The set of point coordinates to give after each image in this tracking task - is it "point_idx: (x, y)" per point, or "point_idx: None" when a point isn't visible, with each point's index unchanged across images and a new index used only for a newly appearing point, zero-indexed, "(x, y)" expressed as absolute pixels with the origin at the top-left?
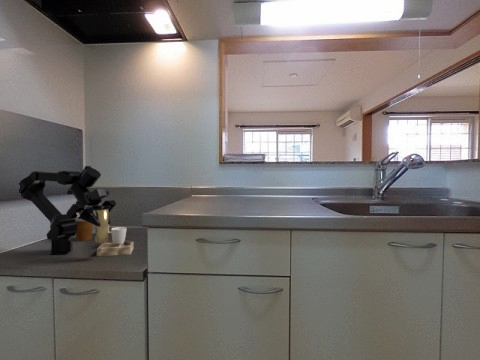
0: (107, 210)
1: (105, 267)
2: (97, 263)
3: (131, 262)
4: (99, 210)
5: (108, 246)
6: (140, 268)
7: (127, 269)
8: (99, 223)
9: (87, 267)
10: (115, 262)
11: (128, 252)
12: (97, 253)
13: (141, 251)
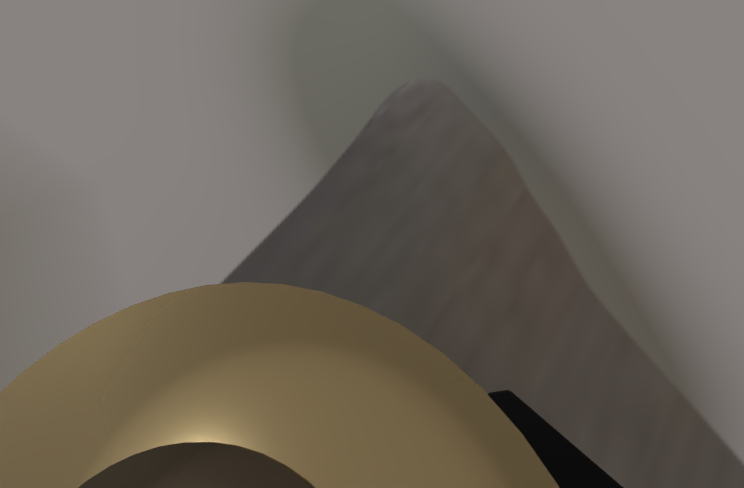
0: (140, 320)
1: (528, 256)
2: (520, 384)
3: (373, 211)
4: (532, 452)
5: None
6: (416, 101)
7: (466, 133)
8: (507, 407)
9: (617, 361)
10: (428, 292)
11: None
12: None
13: None
